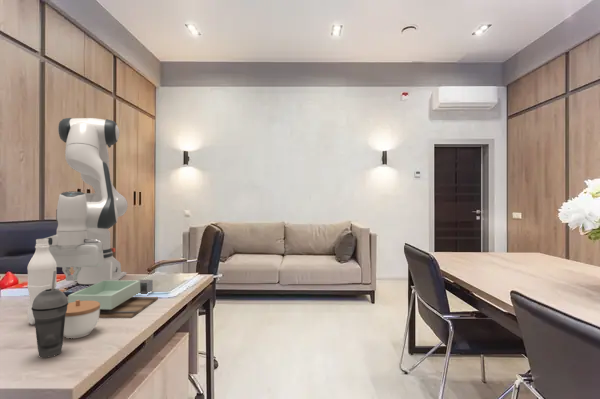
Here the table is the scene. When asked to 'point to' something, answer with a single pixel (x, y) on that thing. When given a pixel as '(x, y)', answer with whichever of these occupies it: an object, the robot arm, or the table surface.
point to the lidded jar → (81, 318)
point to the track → (128, 308)
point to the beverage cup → (50, 320)
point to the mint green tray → (107, 293)
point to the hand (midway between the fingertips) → (71, 280)
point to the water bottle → (40, 273)
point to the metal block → (146, 286)
